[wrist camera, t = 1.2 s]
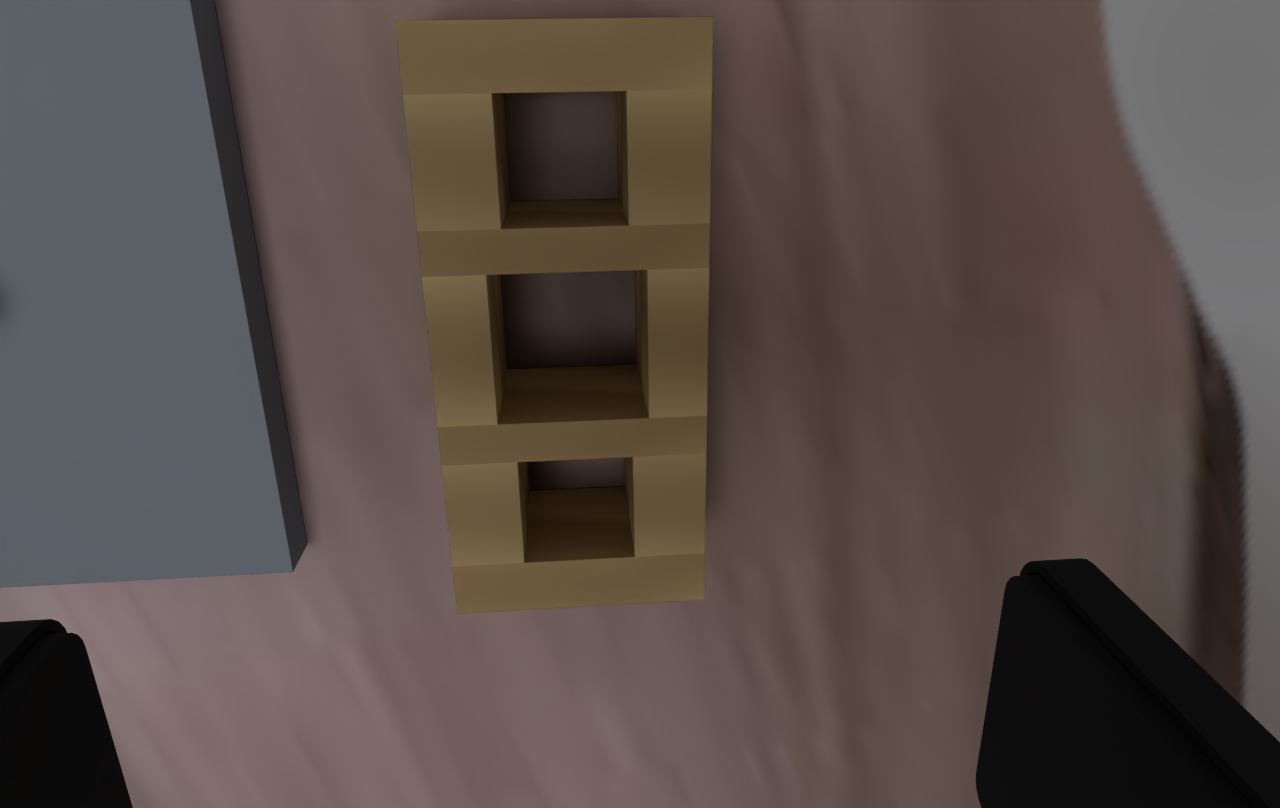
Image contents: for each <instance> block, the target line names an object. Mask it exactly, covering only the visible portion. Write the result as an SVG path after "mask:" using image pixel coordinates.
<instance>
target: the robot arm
mask: <svg viewBox="0 0 1280 808" xmlns="http://www.w3.org/2000/svg"><path fill="white" fill-rule="evenodd" d="M976 787H977V793H978V798H979V801H980V804H981V807H982V808H1280V742H1279V741H1278V740H1277V739H1276V738H1275V737H1274V736H1273V735H1272V734H1270V732H1268V731H1267V730H1266V729H1265V728H1264V727H1263V726H1262V725H1261V724H1260V723H1259V722H1258V721H1257V720H1256V719H1255V718H1254V717H1253V716H1252V715H1251V714H1250V713H1249V712H1248V711H1247V710H1246V709H1244V708H1243V707H1242V706H1241V705H1240V704H1239V703H1238V702H1237V701H1236V700H1235V699H1234V698H1233V697H1232V696H1231V695H1230V694H1229V693H1228V692H1227V691H1226V690H1225V689H1224V688H1223V687H1222V686H1220V685H1219V684H1218V683H1217V682H1216V681H1215V680H1214V679H1213V678H1212V677H1211V676H1210V675H1209V674H1208V673H1207V672H1206V671H1205V670H1204V669H1203V668H1202V667H1201V666H1200V665H1199V664H1197V663H1196V662H1195V661H1194V660H1193V659H1192V658H1191V657H1190V656H1189V655H1188V654H1187V653H1186V652H1185V651H1184V650H1183V649H1182V648H1181V647H1180V646H1179V645H1178V644H1177V643H1176V642H1175V641H1173V640H1172V639H1171V638H1170V637H1169V636H1168V635H1167V634H1166V633H1165V632H1164V631H1163V630H1162V629H1161V628H1160V627H1159V626H1158V625H1157V624H1156V623H1155V622H1154V621H1153V620H1152V619H1151V618H1149V617H1148V616H1147V615H1146V614H1145V613H1144V612H1143V611H1142V610H1141V609H1140V608H1139V607H1138V606H1137V605H1136V604H1135V603H1134V602H1133V601H1132V600H1131V599H1130V598H1129V597H1128V596H1127V595H1125V594H1124V593H1123V592H1122V591H1121V590H1120V589H1119V588H1118V587H1117V586H1116V585H1115V584H1114V583H1113V582H1112V581H1111V580H1110V579H1109V578H1108V577H1107V576H1106V575H1105V574H1104V573H1103V572H1101V571H1100V570H1099V569H1098V568H1097V567H1096V566H1095V565H1094V564H1093V563H1091V562H1090V561H1088V560H1087V559H1080V558H1079V559H1062V560H1045V561H1031V562H1029V563H1027V564H1025V566H1024V567H1023V569H1022V570H1021V573H1020V576H1014V577H1012V578H1010V579H1009V581H1008V582H1007V584H1006V588H1005V592H1004V599H1003V605H1002V611H1001V618H1000V624H999V631H998V637H997V643H996V650H995V656H994V663H993V669H992V675H991V682H990V688H989V695H988V701H987V707H986V714H985V720H984V727H983V733H982V739H981V746H980V752H979V759H978V765H977V771H976ZM0 808H133V807H132V804H131V800H130V797H129V794H128V790H127V787H126V783H125V780H124V777H123V773H122V770H121V766H120V763H119V759H118V756H117V753H116V749H115V746H114V742H113V739H112V736H111V732H110V729H109V725H108V722H107V719H106V715H105V712H104V708H103V705H102V702H101V698H100V695H99V691H98V688H97V685H96V681H95V678H94V674H93V671H92V668H91V664H90V661H89V657H88V654H87V651H86V647H85V645H84V642H83V640H82V639H81V638H80V637H79V636H78V635H77V634H74V633H67V631H66V629H65V628H64V627H63V625H62V624H61V623H60V622H58V621H55V620H52V619H46V620H29V621H12V622H0Z"/></svg>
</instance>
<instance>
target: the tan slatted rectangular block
mask: <svg viewBox="0 0 1280 808" xmlns="http://www.w3.org/2000/svg"><path fill="white" fill-rule="evenodd" d="M395 25H396V35H397V44H398V54H399V63H400V73H401V82H402V92H403V102H404V111H405V121H406V130H407V140H408V149H409V159H410V169H411V178H412V188H413V197H414V207H415V217H416V226H417V236H418V245H419V255H420V264H421V274H422V284H423V293H424V303H425V312H426V322H427V331H428V341H429V351H430V360H431V370H432V379H433V389H434V398H435V408H436V418H437V427H438V437H439V446H440V456H441V465H442V475H443V485H444V494H445V504H446V513H447V523H448V532H449V542H450V552H451V561H452V571H453V580H454V590H455V599H456V609H457V614H465V613H483V612H500V611H517V610H535V609H552V608H569V607H586V606H604V605H621V604H638V603H656V602H673V601H690V600H704V585H705V519H706V454H707V389H708V324H709V258H710V193H711V128H712V63H713V17H662V18H574V19H486V20H398V21H395ZM596 91H616V111H617V157H618V199H584V200H545V201H511V198H510V183H509V167H508V152H507V137H506V121H505V106H504V93H538V92H596ZM628 270H635V317H636V364H634V365H608V366H583V367H557V368H531V369H507V360H506V346H505V332H504V318H503V304H502V290H501V276H500V275H501V274H532V273H564V272H596V271H628ZM621 457H624V478H625V486H623V487H603V488H582V489H561V490H541V491H530V489H529V473H528V462H534V461H556V460H578V459H600V458H621Z"/></svg>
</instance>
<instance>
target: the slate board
mask: <svg viewBox="0 0 1280 808" xmlns="http://www.w3.org/2000/svg"><path fill="white" fill-rule="evenodd" d="M306 546H307V541H306V535H305V529H304V523H303V517H302V512H301V506H300V500H299V494H298V488H297V482H296V477H295V471H294V465H293V459H292V453H291V447H290V442H289V436H288V430H287V424H286V418H285V412H284V407H283V401H282V395H281V389H280V383H279V377H278V372H277V366H276V360H275V354H274V348H273V342H272V337H271V331H270V325H269V319H268V313H267V307H266V302H265V296H264V290H263V284H262V278H261V272H260V267H259V261H258V255H257V249H256V243H255V237H254V232H253V226H252V220H251V214H250V208H249V202H248V196H247V191H246V185H245V179H244V173H243V167H242V161H241V156H240V150H239V144H238V138H237V132H236V126H235V121H234V115H233V109H232V103H231V97H230V91H229V86H228V80H227V74H226V68H225V62H224V56H223V51H222V45H221V39H220V33H219V27H218V21H217V16H216V10H215V4H214V0H0V588H3V587H22V586H41V585H59V584H78V583H96V582H115V581H133V580H152V579H171V578H189V577H208V576H226V575H245V574H264V573H282V572H293V571H294V569H295V567H296V565H297V563H298V561H299V559H300V557H301V555H302V553H303V551H304V550H305V548H306Z"/></svg>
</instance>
